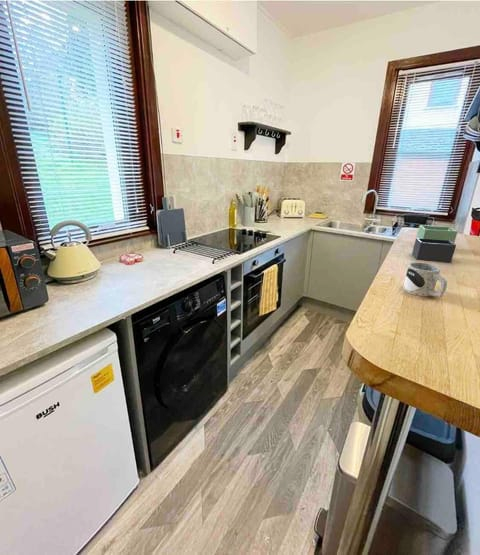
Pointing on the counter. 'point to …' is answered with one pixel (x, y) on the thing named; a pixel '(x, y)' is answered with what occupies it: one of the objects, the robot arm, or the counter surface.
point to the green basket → (437, 233)
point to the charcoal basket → (433, 250)
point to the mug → (423, 280)
